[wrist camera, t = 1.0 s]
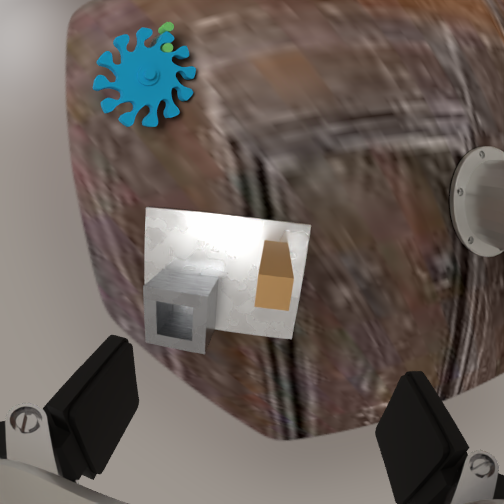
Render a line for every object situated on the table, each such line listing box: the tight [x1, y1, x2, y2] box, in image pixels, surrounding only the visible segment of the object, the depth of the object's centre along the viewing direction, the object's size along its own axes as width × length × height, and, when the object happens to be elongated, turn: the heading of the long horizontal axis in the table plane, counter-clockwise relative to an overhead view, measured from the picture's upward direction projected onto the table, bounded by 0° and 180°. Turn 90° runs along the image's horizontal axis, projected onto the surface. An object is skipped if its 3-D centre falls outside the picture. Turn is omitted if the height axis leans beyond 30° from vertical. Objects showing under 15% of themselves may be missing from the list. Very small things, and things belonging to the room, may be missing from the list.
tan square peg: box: [254, 240, 294, 311], centre depth 23 cm, size 2×2×10 cm
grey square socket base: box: [143, 206, 311, 354], centre depth 27 cm, size 16×12×6 cm
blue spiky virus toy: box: [93, 22, 196, 127], centre depth 23 cm, size 11×6×10 cm
